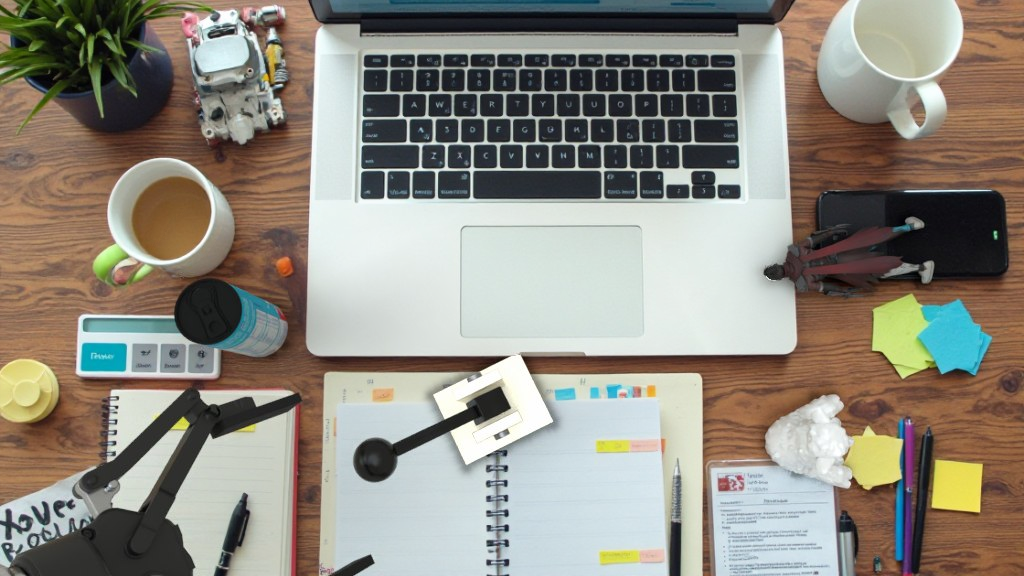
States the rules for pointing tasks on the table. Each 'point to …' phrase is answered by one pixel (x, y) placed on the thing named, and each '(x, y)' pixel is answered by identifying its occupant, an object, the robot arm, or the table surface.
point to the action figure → (846, 260)
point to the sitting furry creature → (812, 442)
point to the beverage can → (229, 319)
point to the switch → (423, 437)
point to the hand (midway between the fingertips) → (328, 480)
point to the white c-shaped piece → (505, 427)
